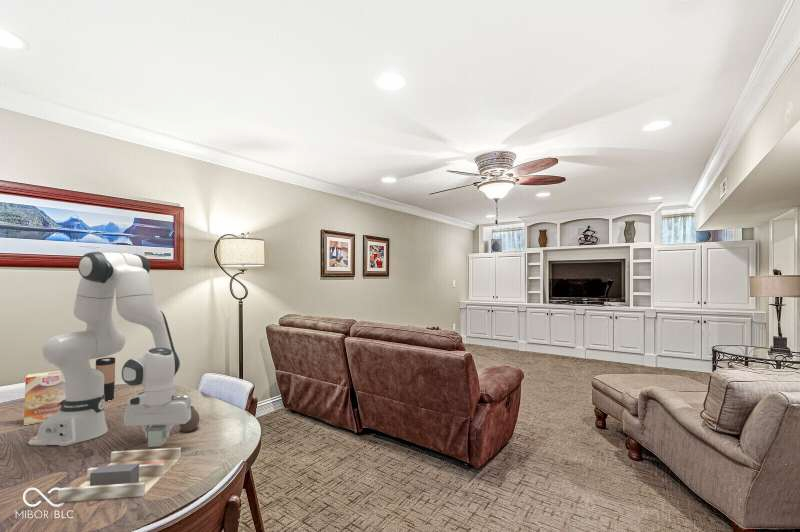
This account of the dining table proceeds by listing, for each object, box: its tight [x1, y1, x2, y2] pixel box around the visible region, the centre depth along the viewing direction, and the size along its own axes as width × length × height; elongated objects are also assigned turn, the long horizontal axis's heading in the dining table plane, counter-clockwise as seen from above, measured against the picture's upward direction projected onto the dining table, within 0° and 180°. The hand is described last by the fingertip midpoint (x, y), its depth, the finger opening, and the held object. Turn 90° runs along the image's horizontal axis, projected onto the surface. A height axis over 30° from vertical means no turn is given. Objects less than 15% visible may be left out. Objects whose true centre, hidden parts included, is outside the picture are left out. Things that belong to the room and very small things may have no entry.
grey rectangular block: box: [147, 425, 168, 448], centre depth 127 cm, size 4×4×6 cm
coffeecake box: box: [23, 370, 66, 426], centre depth 156 cm, size 15×7×20 cm, turn 131°
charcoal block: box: [90, 464, 139, 486], centre depth 102 cm, size 10×4×5 cm, turn 97°
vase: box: [178, 405, 200, 433], centre depth 144 cm, size 7×7×9 cm
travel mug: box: [95, 357, 116, 402], centre depth 182 cm, size 8×8×20 cm
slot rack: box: [57, 447, 182, 503], centre depth 107 cm, size 20×22×4 cm
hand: (157, 437), depth 127 cm, fingers closed on grey rectangular block, 4 cm apart
